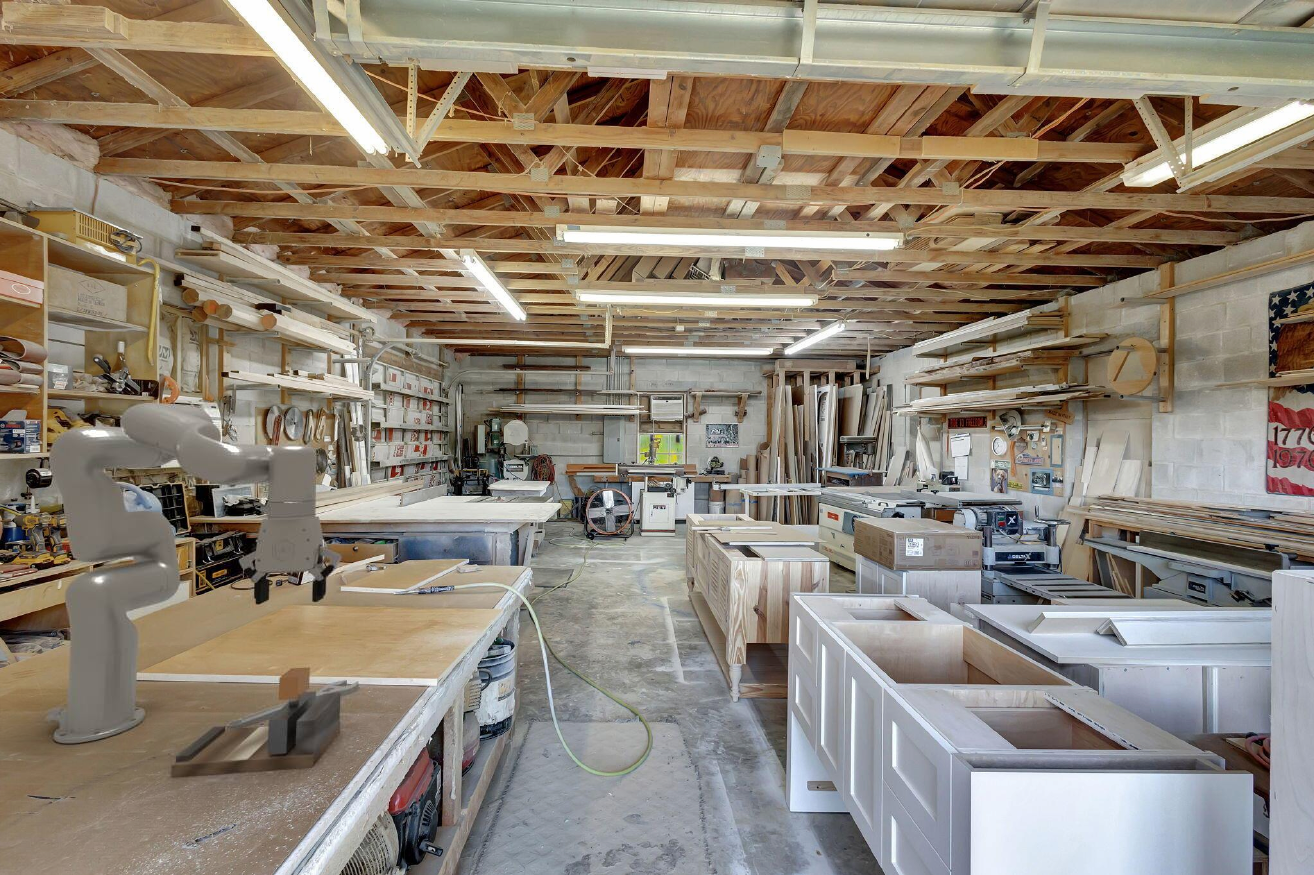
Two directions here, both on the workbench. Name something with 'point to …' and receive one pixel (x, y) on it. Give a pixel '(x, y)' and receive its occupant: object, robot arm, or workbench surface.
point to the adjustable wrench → (269, 713)
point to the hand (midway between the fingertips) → (290, 601)
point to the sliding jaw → (289, 709)
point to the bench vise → (262, 745)
